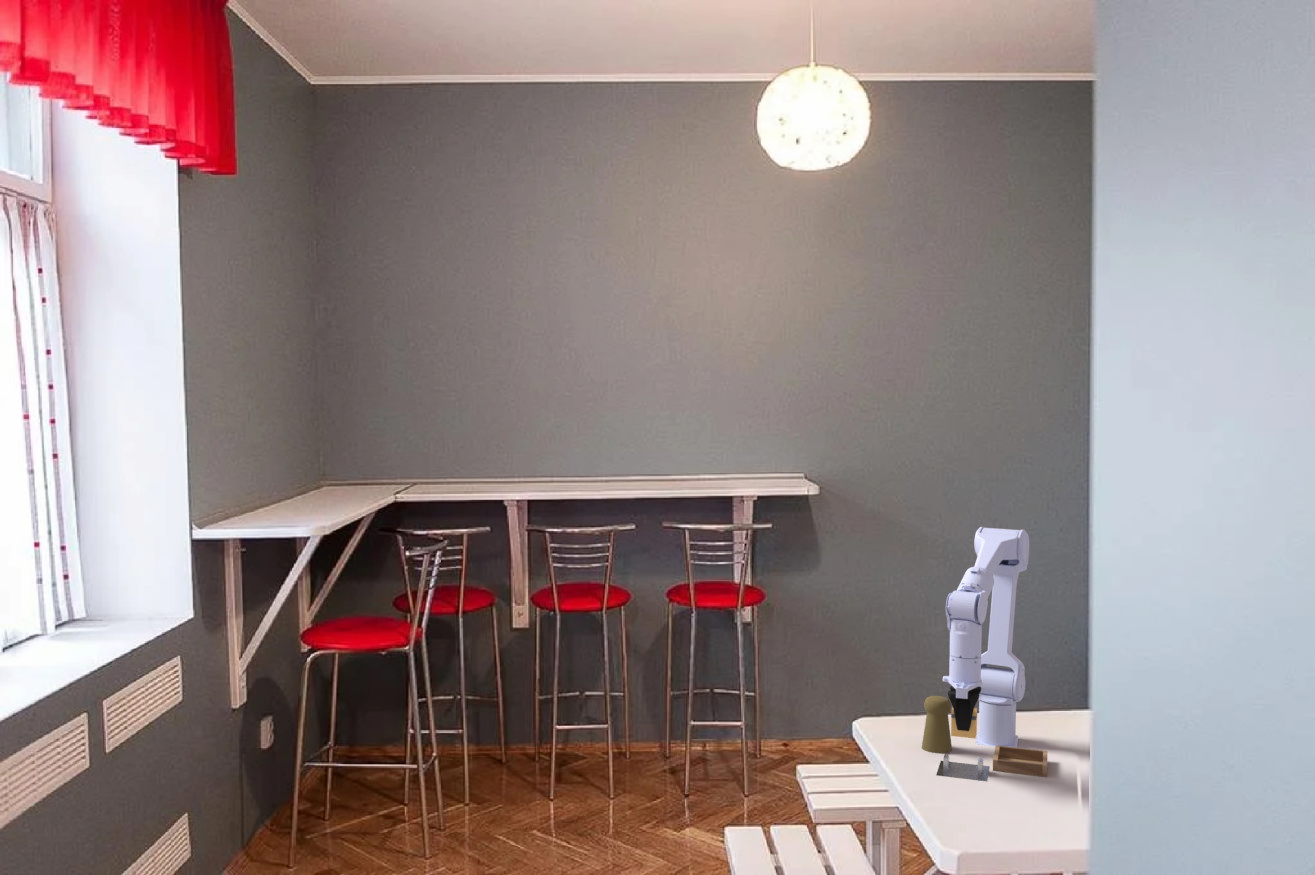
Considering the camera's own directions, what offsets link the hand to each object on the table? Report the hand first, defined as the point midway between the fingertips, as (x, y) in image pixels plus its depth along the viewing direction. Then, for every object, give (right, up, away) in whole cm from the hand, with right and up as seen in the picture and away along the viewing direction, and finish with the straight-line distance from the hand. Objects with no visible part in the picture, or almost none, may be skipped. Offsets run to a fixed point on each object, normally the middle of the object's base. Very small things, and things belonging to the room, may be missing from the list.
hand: (964, 727), depth 207 cm
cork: (-2, -9, +14) cm, 16 cm away
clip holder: (0, -9, 0) cm, 9 cm away
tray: (+12, -9, +3) cm, 15 cm away
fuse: (0, -1, 0) cm, 1 cm away
